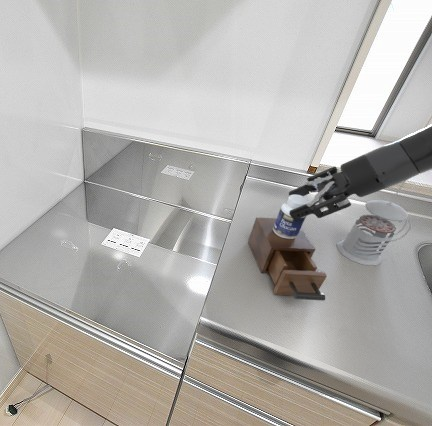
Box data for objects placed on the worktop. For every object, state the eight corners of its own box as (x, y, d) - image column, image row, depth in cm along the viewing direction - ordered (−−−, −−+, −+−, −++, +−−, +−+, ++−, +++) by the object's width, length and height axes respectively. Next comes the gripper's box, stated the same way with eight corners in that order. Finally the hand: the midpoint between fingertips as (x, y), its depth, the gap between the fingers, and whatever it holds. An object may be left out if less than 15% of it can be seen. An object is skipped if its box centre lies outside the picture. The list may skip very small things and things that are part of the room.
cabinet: (302, 275, 71) (315, 249, 66) (261, 273, 72) (271, 247, 67) (283, 243, 81) (294, 218, 76) (247, 242, 81) (256, 217, 76)
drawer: (324, 313, 62) (338, 292, 58) (282, 310, 62) (293, 289, 58) (295, 262, 73) (305, 242, 69) (260, 261, 74) (268, 241, 70)
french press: (330, 237, 82) (376, 155, 67) (377, 242, 80) (435, 159, 65) (345, 262, 74) (400, 175, 60) (398, 269, 72) (468, 180, 58)
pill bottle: (272, 236, 70) (286, 202, 64) (272, 223, 74) (284, 190, 68) (298, 242, 68) (314, 207, 63) (296, 228, 72) (310, 195, 67)
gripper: (360, 141, 61) (281, 179, 72) (376, 170, 50) (281, 210, 61) (378, 168, 62) (298, 202, 73) (398, 203, 52) (301, 236, 62)
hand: (290, 205), depth 67 cm, fingers open, 8 cm apart
